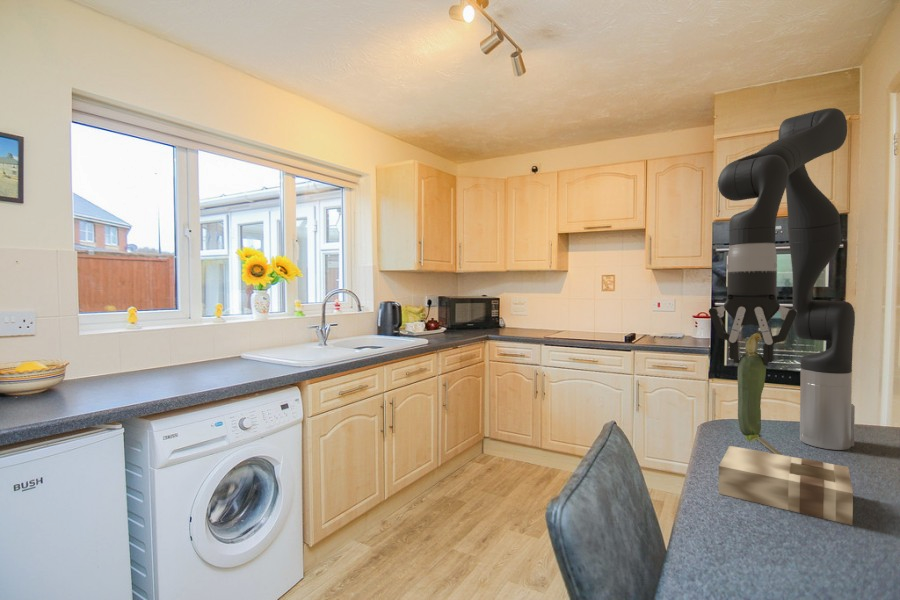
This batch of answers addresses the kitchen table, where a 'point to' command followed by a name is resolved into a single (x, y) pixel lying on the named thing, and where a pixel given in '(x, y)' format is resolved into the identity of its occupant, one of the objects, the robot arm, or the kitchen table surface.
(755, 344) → the vegetable
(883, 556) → the kitchen table surface
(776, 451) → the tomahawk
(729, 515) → the kitchen table surface
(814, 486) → the wooden block with hole
